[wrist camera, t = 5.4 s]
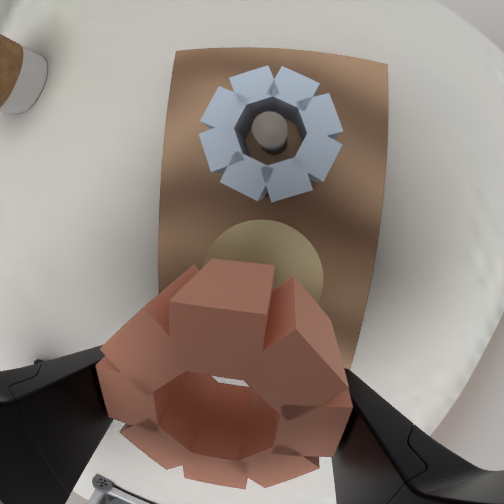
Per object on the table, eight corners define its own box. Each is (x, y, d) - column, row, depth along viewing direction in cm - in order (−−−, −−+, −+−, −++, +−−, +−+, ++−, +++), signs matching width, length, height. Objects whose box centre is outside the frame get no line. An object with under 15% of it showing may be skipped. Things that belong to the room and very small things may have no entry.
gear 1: (343, 179, 16) (358, 177, 12) (238, 210, 17) (225, 216, 13) (307, 78, 15) (312, 54, 11) (205, 111, 16) (186, 94, 12)
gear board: (345, 361, 20) (359, 411, 14) (168, 340, 21) (137, 381, 16) (380, 72, 15) (410, 37, 10) (183, 59, 16) (150, 23, 11)
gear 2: (312, 422, 10) (315, 493, 7) (158, 400, 11) (123, 459, 7) (346, 272, 9) (378, 323, 5) (148, 251, 9) (83, 285, 6)
